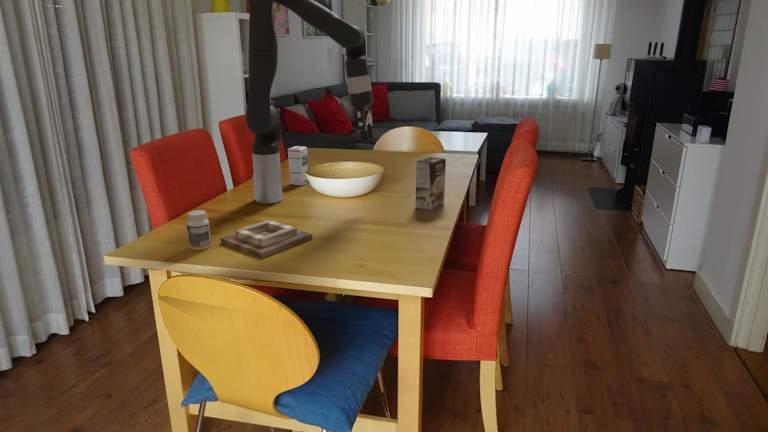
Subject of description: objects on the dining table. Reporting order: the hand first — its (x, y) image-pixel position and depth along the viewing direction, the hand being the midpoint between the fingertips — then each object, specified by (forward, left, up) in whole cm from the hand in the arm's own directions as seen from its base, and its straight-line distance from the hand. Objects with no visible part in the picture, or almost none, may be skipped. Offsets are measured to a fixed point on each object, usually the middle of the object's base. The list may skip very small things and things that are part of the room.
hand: (367, 140), depth 175 cm
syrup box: (-40, +6, -23) cm, 47 cm away
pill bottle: (-11, -58, -23) cm, 64 cm away
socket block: (-1, -44, -22) cm, 50 cm away
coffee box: (+18, +12, -23) cm, 31 cm away
